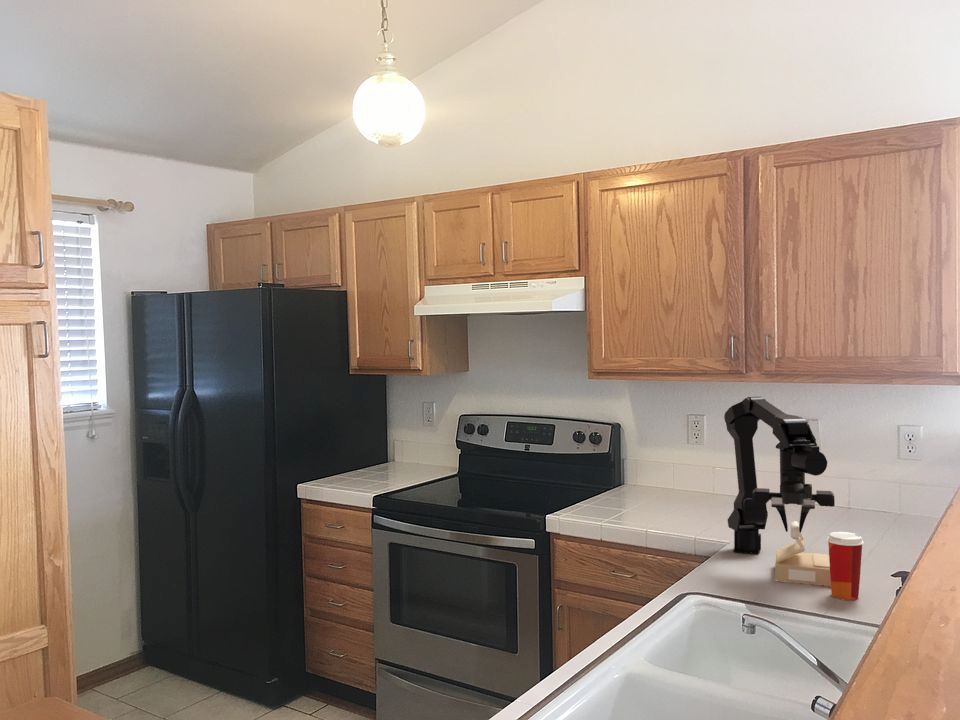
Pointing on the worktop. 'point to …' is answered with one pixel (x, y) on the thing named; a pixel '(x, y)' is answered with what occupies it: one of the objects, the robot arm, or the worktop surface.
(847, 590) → the paper cup
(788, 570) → the carton
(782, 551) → the flap
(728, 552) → the worktop surface
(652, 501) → the worktop surface
